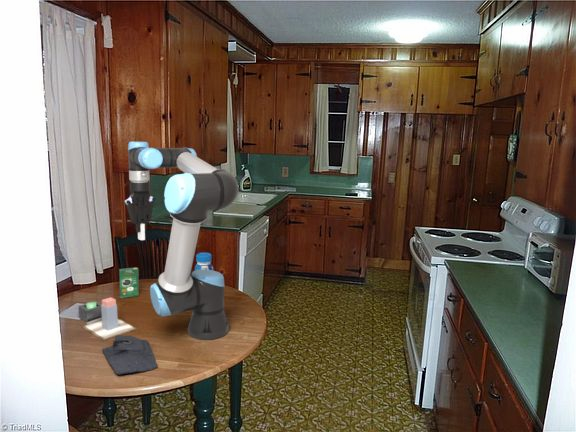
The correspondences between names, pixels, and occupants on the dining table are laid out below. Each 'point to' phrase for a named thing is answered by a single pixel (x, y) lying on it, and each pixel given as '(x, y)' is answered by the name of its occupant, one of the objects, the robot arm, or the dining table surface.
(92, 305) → the button
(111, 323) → the pink-tipped grey block
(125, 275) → the coffee box
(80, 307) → the switch box
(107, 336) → the cream flat rectangular panel
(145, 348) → the dark grey folded cloth
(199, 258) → the beverage bottle
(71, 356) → the dining table surface
